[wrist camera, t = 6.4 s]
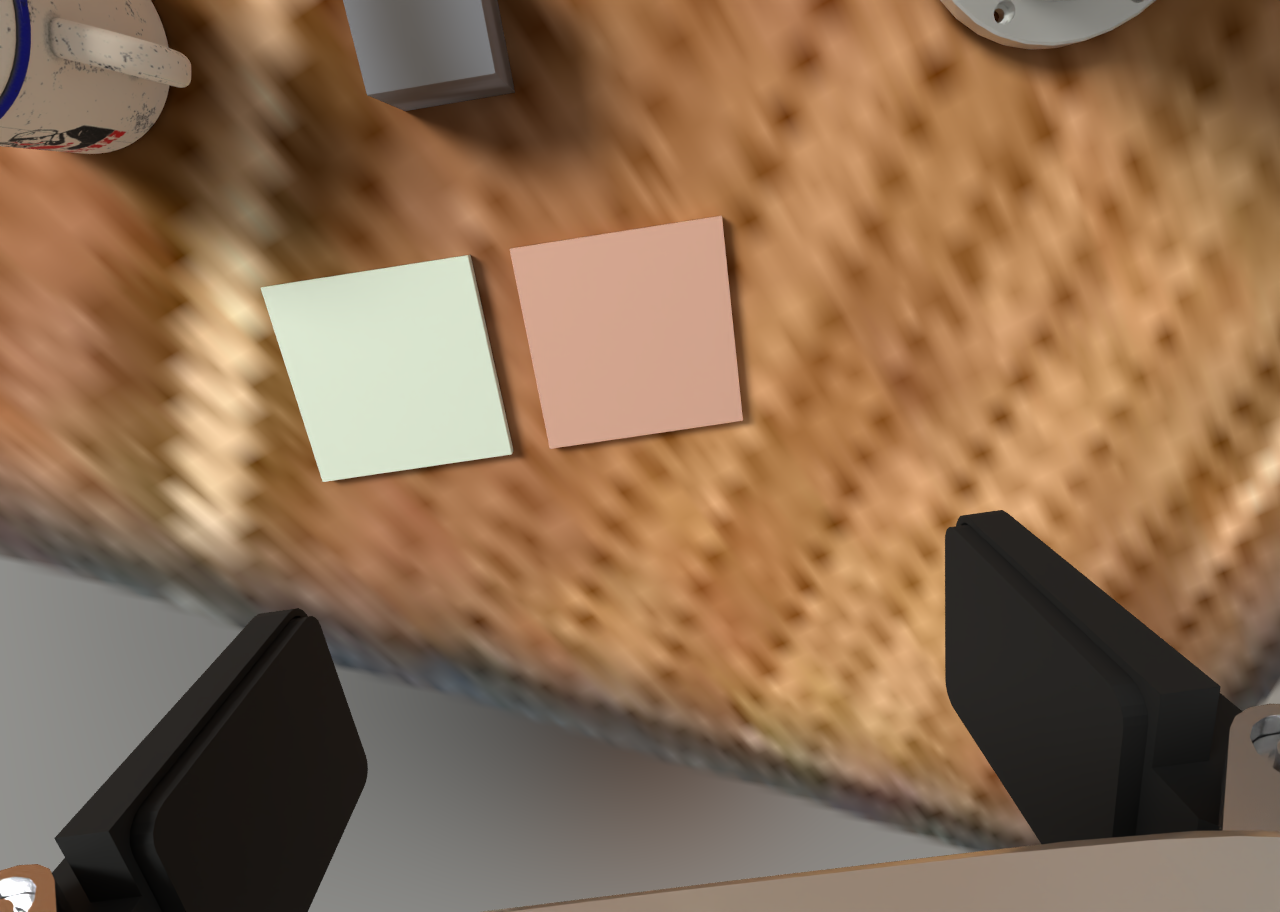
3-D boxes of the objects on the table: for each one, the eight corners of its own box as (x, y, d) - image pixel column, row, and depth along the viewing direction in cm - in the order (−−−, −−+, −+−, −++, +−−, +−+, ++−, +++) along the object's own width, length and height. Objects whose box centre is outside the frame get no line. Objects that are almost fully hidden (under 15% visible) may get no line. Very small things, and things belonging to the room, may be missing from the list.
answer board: (720, 215, 33) (721, 216, 33) (741, 417, 37) (742, 420, 36) (266, 286, 34) (260, 287, 34) (327, 477, 37) (322, 481, 37)
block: (490, -38, 30) (464, -83, 25) (515, 92, 32) (495, 73, 27) (375, -17, 30) (328, -59, 25) (405, 111, 32) (366, 95, 27)
